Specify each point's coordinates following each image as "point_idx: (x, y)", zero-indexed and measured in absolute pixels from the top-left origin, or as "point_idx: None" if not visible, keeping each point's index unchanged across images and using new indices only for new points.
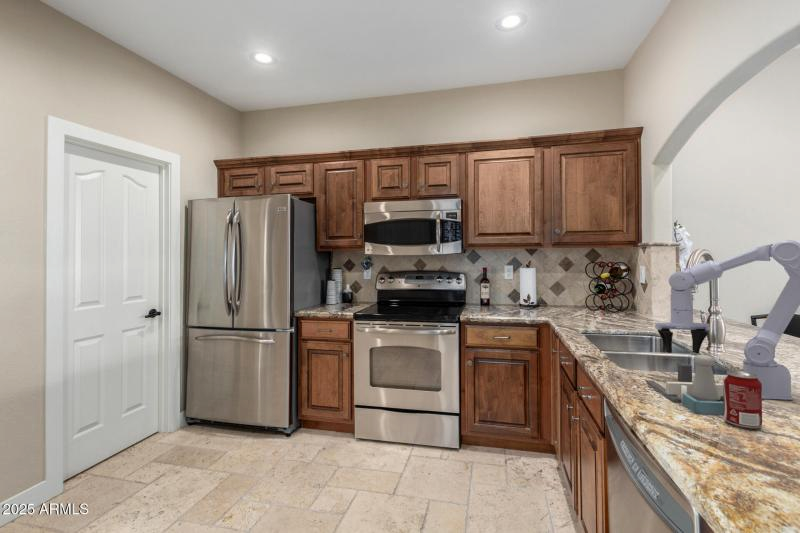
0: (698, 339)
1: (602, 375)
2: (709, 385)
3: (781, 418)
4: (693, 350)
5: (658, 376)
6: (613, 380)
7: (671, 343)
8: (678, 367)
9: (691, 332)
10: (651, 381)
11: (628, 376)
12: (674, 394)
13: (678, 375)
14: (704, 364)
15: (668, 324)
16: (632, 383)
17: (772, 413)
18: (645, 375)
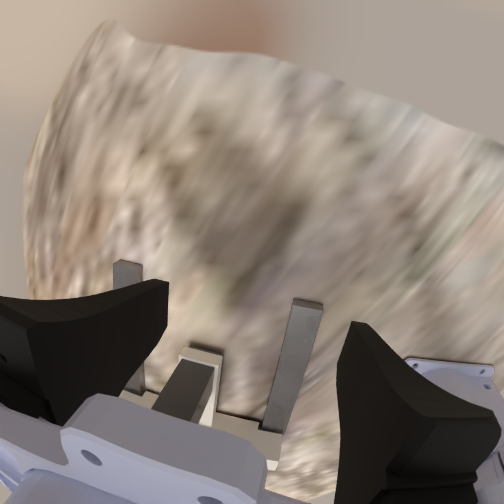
0: (338, 467)
1: (31, 152)
2: None
3: (302, 493)
4: (350, 336)
5: (222, 153)
6: (41, 214)
7: (128, 378)
8: (157, 402)
9: (400, 418)
10: (124, 279)
11: (97, 158)
12: (144, 393)
13: (170, 380)
14: None
15: (12, 489)
16: (79, 252)
17: (311, 480)
18: (170, 137)
